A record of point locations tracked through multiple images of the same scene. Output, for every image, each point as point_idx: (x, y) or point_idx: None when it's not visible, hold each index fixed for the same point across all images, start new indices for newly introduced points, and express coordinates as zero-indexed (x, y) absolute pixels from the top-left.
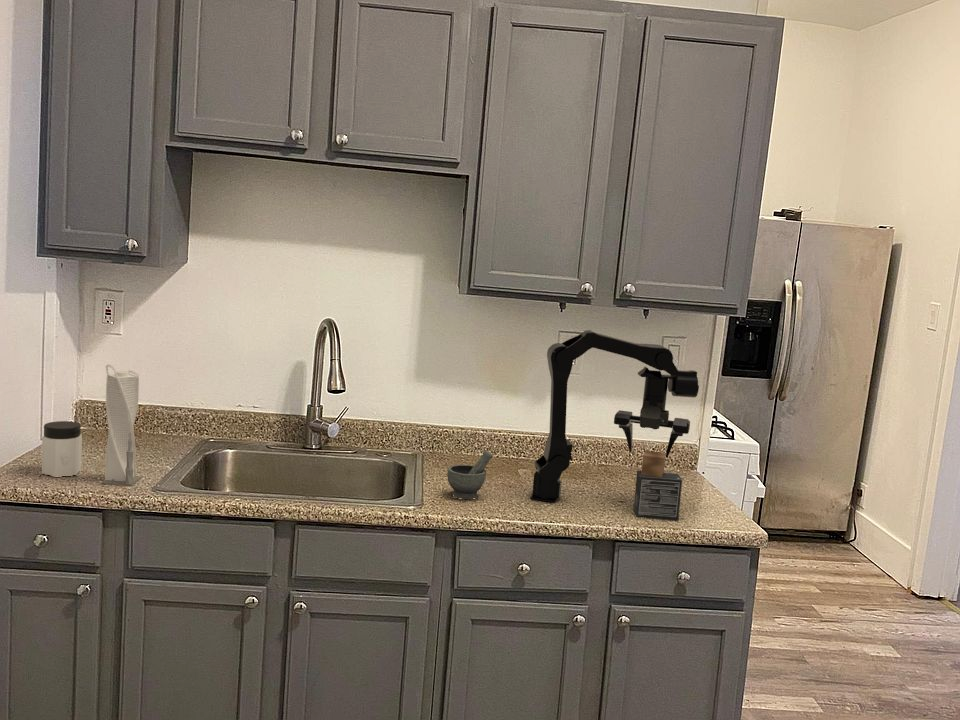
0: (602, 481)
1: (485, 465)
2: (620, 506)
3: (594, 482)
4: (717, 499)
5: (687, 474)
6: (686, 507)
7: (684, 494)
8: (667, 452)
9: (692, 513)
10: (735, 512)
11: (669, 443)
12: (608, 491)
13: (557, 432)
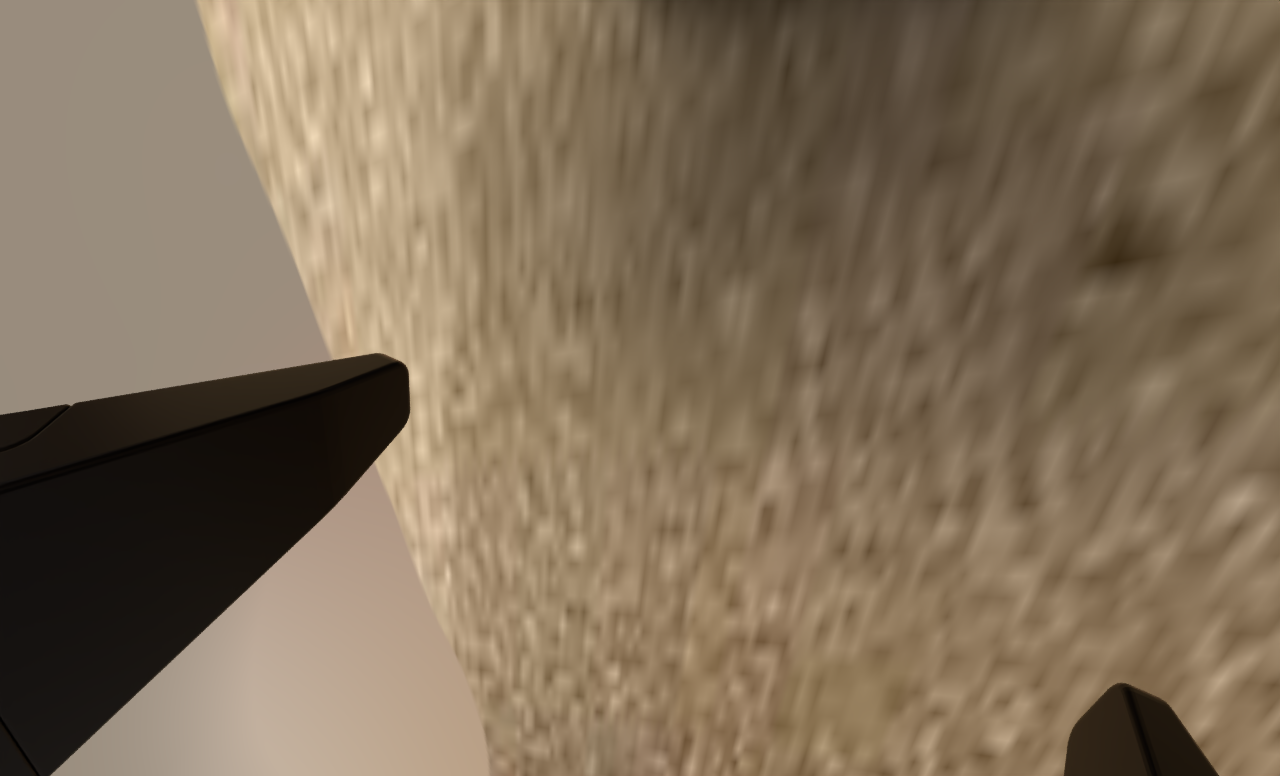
0: None
1: None
2: (1222, 39)
3: None
4: None
5: (517, 765)
6: (527, 209)
7: (534, 492)
8: (301, 381)
9: (487, 48)
10: (266, 178)
11: (36, 454)
12: (1143, 549)
13: None
